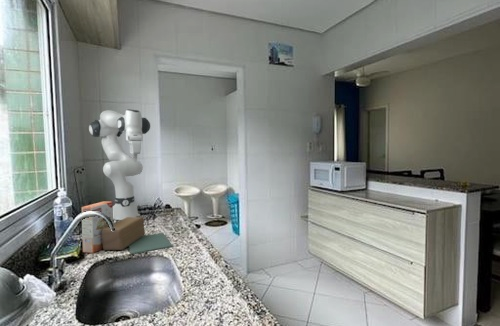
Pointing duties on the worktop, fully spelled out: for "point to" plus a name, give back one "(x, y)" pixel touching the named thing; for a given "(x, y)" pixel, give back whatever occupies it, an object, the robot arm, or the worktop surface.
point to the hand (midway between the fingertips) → (135, 161)
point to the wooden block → (123, 233)
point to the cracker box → (95, 226)
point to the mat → (149, 243)
